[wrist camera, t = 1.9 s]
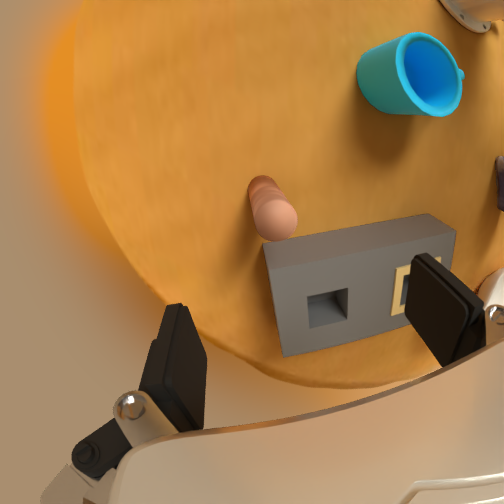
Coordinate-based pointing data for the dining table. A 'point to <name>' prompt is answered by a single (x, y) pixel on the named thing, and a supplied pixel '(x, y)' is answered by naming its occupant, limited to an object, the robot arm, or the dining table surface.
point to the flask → (500, 181)
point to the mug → (411, 76)
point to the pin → (271, 210)
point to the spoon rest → (492, 289)
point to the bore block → (349, 280)
